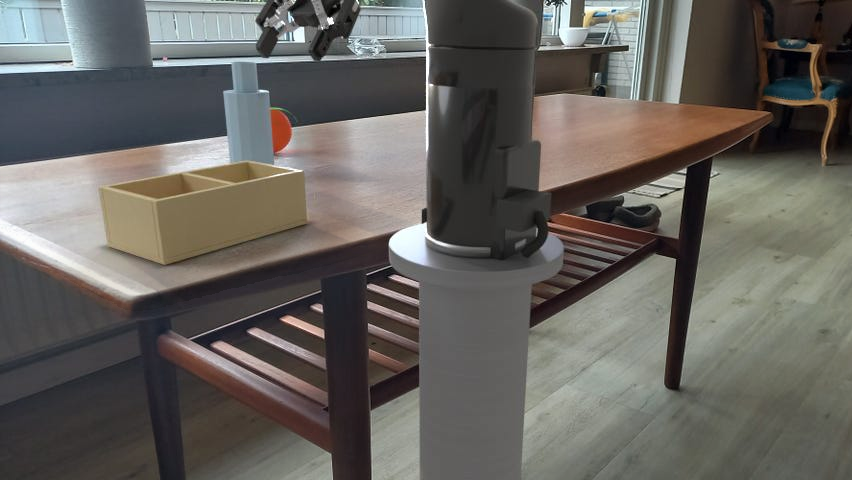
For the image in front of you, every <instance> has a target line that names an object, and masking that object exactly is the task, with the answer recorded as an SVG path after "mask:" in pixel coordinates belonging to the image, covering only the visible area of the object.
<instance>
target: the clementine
mask: <svg viewBox="0 0 852 480" xmlns="http://www.w3.org/2000/svg"><path fill="white" fill-rule="evenodd" d="M282 111H285V112H287V113H289V114H291V112H290V111H288V110H286V109H284V108H280V107H270V113H271V126H272V140H273V153H274V154H276V153H278V152H280V151H282V150H284V149H285V148H286V147H287V146H288V145H289V143H290V142H291V139H292V136H293V129H292V125H291V122H290V120H289V118H288V117H287V115H285V113H284V112H282ZM294 120H295V121H296V123H298V120H297V118H296V117H294Z"/></svg>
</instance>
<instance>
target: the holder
mask: <svg viewBox="0 0 852 480" xmlns="http://www.w3.org/2000/svg"><path fill="white" fill-rule="evenodd" d="M97 188H98V195H99V200H100V208H101V212H102V219H103V225H104V230H105V237H106V243H107V247H108V248H111V249H114V250H118V251H121V252H124V253H126V254H129V255H132V256H136V257H139V258H141V259H145V260H147V261H150V262H154V263H156V264H159V265H163V266H166V265H170V264H173V263H176V262H181V261H183V260H186V259H190V258H193V257H197V256H200V255H204V254H207V253H211V252H215V251H218V250H222V249H224V248H227V247H233V246H234V245H239V244H241V243H245V242H249V241H252V240H256V239H259V238H262V237H266V236H270V235H272V234H276V233H280V232H283V231H286V230H290V229H294V228H297V227H300V226H303V225H307V224H308V213H307V212H308V211H307V195H306V179H305V170H302V169H296V168H291V167H286V166H280V165H275V164H274V165H270V164H265V163H260V162H254V161H249V160H247V161H241V162H236V163H230V162H229V163H225V164H220V165H219V164H218V165H214V166H208V167H202V168H196V169H191V170H190V169H189V170H186V171H180V172H179V171H178V172H173V173H168V174H163V175H157V176H151V177H145V178H139V179H134V180H128V181H123V182H116V183H112V184H106V185H100V186H98V187H97Z"/></svg>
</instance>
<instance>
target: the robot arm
mask: <svg viewBox="0 0 852 480" xmlns="http://www.w3.org/2000/svg"><path fill="white" fill-rule="evenodd" d="M422 2H423V4H422V5H423V12H424V18H425V27H426V28H425V29H426V95H425V96H426V100H425V101H426V106H425V107H426V109H425V110H426V111H425V113H426V120H425V121H426V123H425V124H426V127H425V130H426V131H425V133H426V135H425V136H426V137H425V139H426V141H425V142H426V143H425V144H426V145H425V146H426V147H425V148H426V151H425V152H426V153H425V155H426V157H425V159H426V160H425V163H426V164H425V169H426V170H425V175H426V176H425V190H426V191H425V196H426V197H425V201H426V202H425V205H426V207H424V208H422V209H421V224H423V223H426V230H425V243H426V245H427V246H428V247H429V248H431V249H432V250H435V251H437V252H440V253H443V254H447V255H451V256H457V257H464V258H491V259H496V260H505V259H507V258H509V257H511V256H513V255H515V254H517V253H519V252H521V254H522V255H523V256H524V257H526V258H529V257H530V256H531V255H532V254H533V253H535V252H536V251H537V250H539V249H540V248H541V247H542V246H543V244H544V243H545V242H546V240H547V237H548V232H549V229H550V228H549V224H548V221H550V220H551V208H552V207H551V206H552V193H551V192H548V191H541V190H539V189H540V172H541V157H542V156H541V155H542V143H541V141H540V140H539V139H535V138H534V139H533V129H534V128H533V127H534V112H535V111H534V109H535V90H536V89H535V88H536V71H537V53H538V48H537V47H538V37H539V35H538V34H539V23H538V22H539V21H538V17H537V15H536V14H535V13H534V11H532V10H531V9H529V8H527V7H526V6H524V5H521V4H520V3H517V2H516V1H514V0H422ZM361 11H362V7H361V5H360V3H359V0H266V2H265V3H264V5H263V7H262V8H261V10H260V11H259V13H258V15H257V16H256V18H255V20H254V22H255V23H256V25H257V26H258V28H259V29H260V31H261V34H260V36H259V38H258V39H257V41H256V43H255V49H256V52H257V53H258V54H259V55H260V57H261V58H262V59H269V58H270V57H271V54H272V53H273V51H274V49H275V47H276V45H277V44H278V42H279V39H280V38H281V37H282V36H284V35H285V34H287V33H293V32H295V31H296V30H298V29H299V28H306V27H311V28H319V27H321V29H318V30H317V31H316V33H315V35H314V37H313V39H312V41H311V43H310V45H309V47H308V49H307V51H308V54H309V56H310V57H311V58H312V60H313V61H314V62H321V61H322V59H323V58H324V57H325V56H326V55H327V53H328V51H329V49H330V47H331V45H332V43H333V42H336V41H337V40H338V38H341V39H344V40H346V39H349V38H350V37H351V34H352V32H353V30H354V28H355V25H356V22H357V20H358V18H359V15H360V13H361ZM288 13H289V15H290V17H291V19H292V20H293V21H291V22H290V21H289V19H287V14H288ZM335 16H336V18H335V20H334V21H333V18H334V17H335ZM280 22H281V23H282V25H281V26H279V27H278V28H277V27H276V26H277V24H279V23H280ZM536 228H537V229H538V233H537V236H536ZM549 233H550V232H549Z"/></svg>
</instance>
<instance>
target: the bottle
mask: <svg viewBox="0 0 852 480" xmlns="http://www.w3.org/2000/svg"><path fill="white" fill-rule="evenodd" d="M230 64H231V73H232V74H231V75H232V85H233V89H227V90H223V91H222V92H223V102H224V104H223V105H224V113H225V123H226V131H227V132H226V135H227V144H228V154H229V155H228V156H229V164H230V163H236V162H241V161H247V160H249V161H254V162H260V163H265V164H270V165H275V156H274V154H275V153H273V140H272V126H271V113H270V108H271V103H270V102H271V100H270V91H269V90H266V89H259V79H258V67H257V62H256V61H232V62H231V63H230Z"/></svg>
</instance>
